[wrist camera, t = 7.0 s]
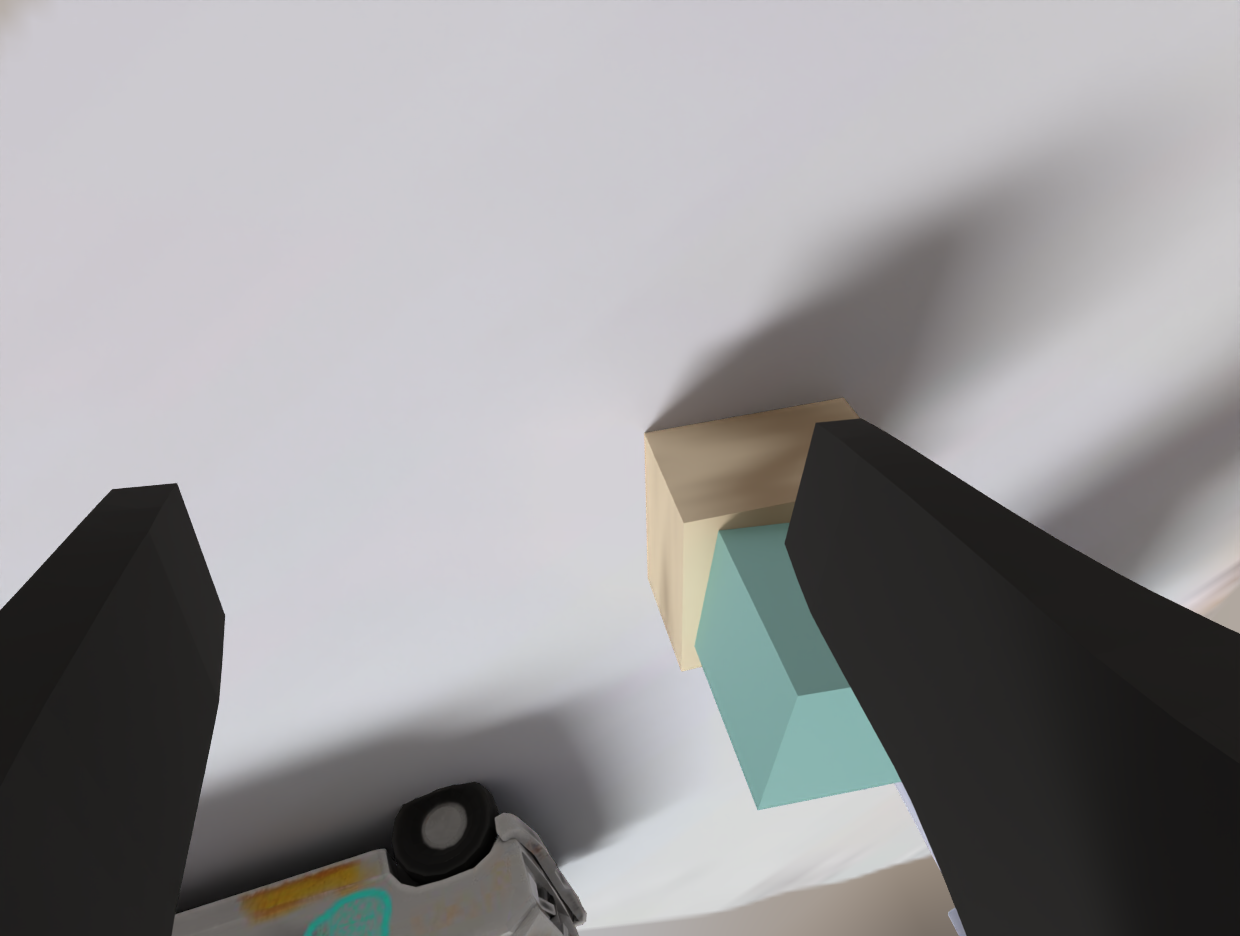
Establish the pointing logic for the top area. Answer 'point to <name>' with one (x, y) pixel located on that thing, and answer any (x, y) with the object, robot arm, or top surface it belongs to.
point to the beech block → (718, 499)
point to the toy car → (415, 883)
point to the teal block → (780, 678)
